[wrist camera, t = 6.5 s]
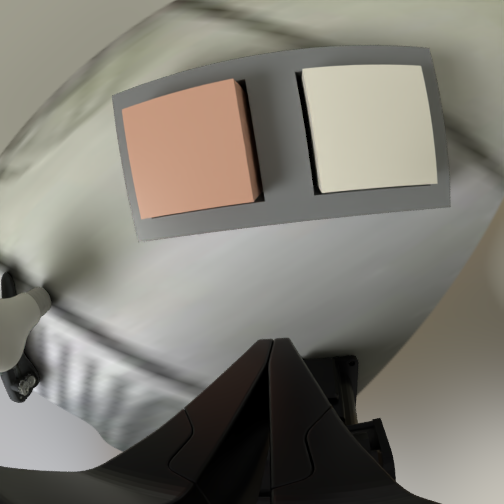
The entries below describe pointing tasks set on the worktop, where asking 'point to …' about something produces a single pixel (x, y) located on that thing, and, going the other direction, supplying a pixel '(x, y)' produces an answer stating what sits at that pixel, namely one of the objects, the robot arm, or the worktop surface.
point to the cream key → (369, 126)
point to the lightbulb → (19, 323)
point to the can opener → (23, 373)
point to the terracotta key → (193, 150)
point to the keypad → (287, 143)
